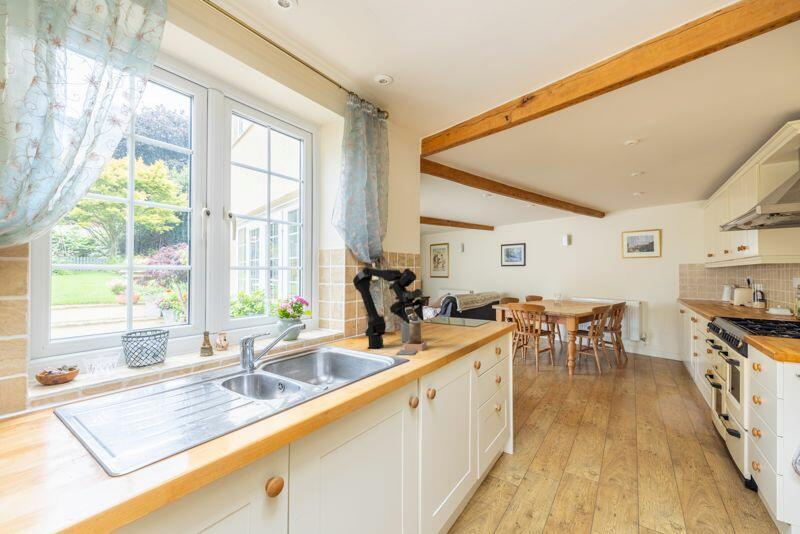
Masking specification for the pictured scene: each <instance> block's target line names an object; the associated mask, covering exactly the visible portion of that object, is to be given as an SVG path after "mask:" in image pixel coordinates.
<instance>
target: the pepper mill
mask: <svg viewBox="0 0 800 534" xmlns="http://www.w3.org/2000/svg"><path fill="white" fill-rule="evenodd" d="M409 321H410V323H409V330H410V344H421V341H422V327H421V326H422V324H421V322H422V320H421V319H419V317H418V316H417V315H411V319H409Z"/></svg>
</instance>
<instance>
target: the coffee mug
mask: <svg viewBox="0 0 800 534" xmlns="http://www.w3.org/2000/svg"><path fill="white" fill-rule="evenodd" d="M400 331H401V332H400V333H401V334H400V335H401V344H403V345H404V344H405V343H407V342H408V341H410V330H409V324H408V323H407V322H402V323H400Z"/></svg>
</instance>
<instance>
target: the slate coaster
mask: <svg viewBox="0 0 800 534" xmlns="http://www.w3.org/2000/svg"><path fill="white" fill-rule="evenodd" d="M417 352H418V351H417V350H405V349H399V351H398V352H396V356H415V354H416V353H417Z"/></svg>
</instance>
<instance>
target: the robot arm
mask: <svg viewBox="0 0 800 534" xmlns="http://www.w3.org/2000/svg"><path fill="white" fill-rule="evenodd" d="M373 277H378V278H381V279H383V280H384V281H386V282H389V283H390V284H389V287H388V289H389V290H393V292H394V294H395V300H396V301H395V302H394V303H393V304H391V305H390V306H389V311H390V314H393V315H395V316H397V317H399V318H400V319H402V320H403V321H404V323H406V322H407V323H408V324H409V323H410V321H409V320H410V318H409V317H408V314H407V312H406V308H412V310H413V312H414V313H415V316H418V319H419V320H421V322H422V321H424V320H425V319H424V312H423V311H424V306H425V305H426V303H427V302H426V300H425V299H424V298H421V296H422V295H423V292H422V290H421V289H420V288H416V289H414V290H412V291H411V290H408V289H407V287H408V288H409V287H410V286H411V285H412V284H413V282H415V281H416V280H417V274H416V273H415V272H413V271H412V270H410V268H404V270H403V271H402V272H401V271H400V269H395V268H394V269H392V268H391V269H382V268H377V267H372V266H367V267H364V268H363V269H362V270H361V271H359V272H358V273H357V274H356V275H355V276H354V278H353V281H352V282H353V285H354V288H355V290H356V291H358V292H359V293H360V295H361V296H360V297H361V298H362V301H363V305H364V307H365V310H366V313H367V316H368V320H367V321H368V322H367V328H366V330H365V332H364V333H365V336H366V337H368V346H367V349H368V350H370V349H373V350H380V349H382V348H383V347H385V346H384V338H383V336H384V335H385V332H386V328H387V325H386V324H387V323H386V321H385V318H384V316H383V315H380V314H379V313H378V310H377V308H376V305H375V301H374V299H373V297H372V296H373V295H372V294H371V290H370V289H371V281H372V280H373ZM391 282H393V283H391Z"/></svg>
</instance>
